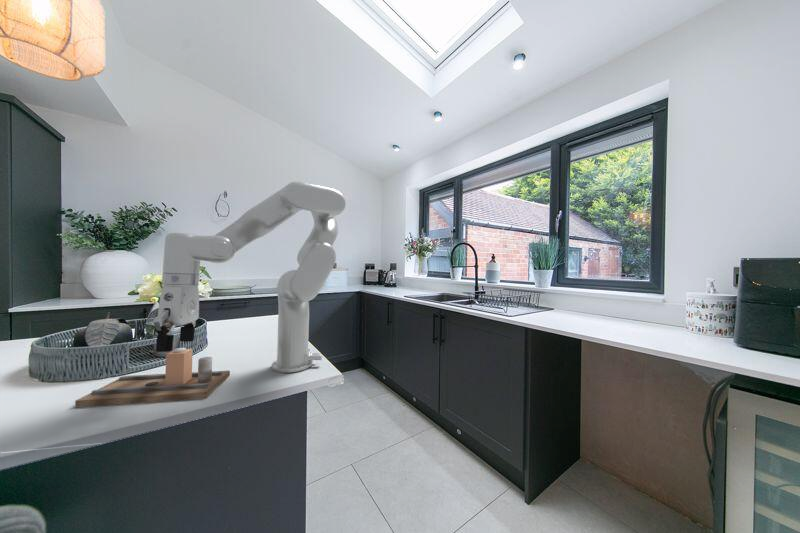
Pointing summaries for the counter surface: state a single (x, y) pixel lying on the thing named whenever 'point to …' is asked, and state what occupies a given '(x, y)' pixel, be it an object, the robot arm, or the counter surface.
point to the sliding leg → (178, 366)
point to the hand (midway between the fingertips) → (176, 345)
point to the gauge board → (156, 388)
